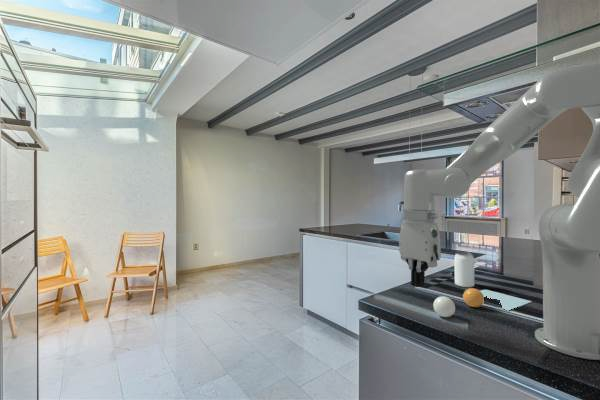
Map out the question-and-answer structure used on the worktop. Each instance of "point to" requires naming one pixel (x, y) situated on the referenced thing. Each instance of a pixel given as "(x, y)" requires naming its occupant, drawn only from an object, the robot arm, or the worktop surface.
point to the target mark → (505, 299)
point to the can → (464, 269)
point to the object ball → (473, 297)
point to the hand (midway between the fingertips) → (417, 285)
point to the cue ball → (444, 306)
